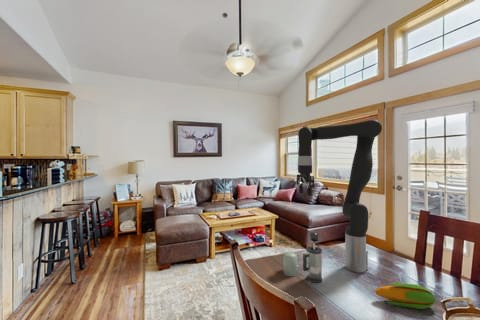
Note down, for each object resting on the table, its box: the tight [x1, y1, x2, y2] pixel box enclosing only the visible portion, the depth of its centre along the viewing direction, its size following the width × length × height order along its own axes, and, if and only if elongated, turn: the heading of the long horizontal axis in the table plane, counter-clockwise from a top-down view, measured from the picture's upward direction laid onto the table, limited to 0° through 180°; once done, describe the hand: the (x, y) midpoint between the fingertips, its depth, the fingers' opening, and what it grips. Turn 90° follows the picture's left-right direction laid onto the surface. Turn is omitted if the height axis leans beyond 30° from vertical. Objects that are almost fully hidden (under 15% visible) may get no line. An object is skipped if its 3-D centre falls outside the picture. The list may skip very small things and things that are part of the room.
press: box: [302, 245, 323, 285], centre depth 101 cm, size 9×7×14 cm
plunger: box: [309, 231, 319, 250], centre depth 101 cm, size 4×4×14 cm
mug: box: [283, 251, 298, 277], centre depth 108 cm, size 6×8×9 cm
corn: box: [374, 282, 437, 310], centre depth 84 cm, size 7×8×20 cm
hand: (305, 194), depth 120 cm, fingers open, 8 cm apart
